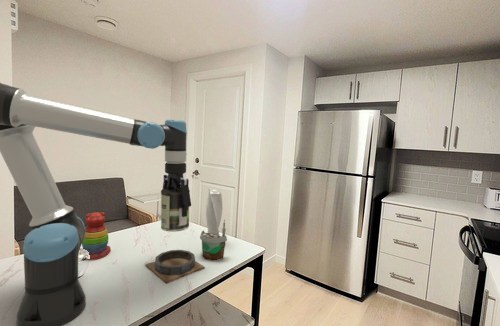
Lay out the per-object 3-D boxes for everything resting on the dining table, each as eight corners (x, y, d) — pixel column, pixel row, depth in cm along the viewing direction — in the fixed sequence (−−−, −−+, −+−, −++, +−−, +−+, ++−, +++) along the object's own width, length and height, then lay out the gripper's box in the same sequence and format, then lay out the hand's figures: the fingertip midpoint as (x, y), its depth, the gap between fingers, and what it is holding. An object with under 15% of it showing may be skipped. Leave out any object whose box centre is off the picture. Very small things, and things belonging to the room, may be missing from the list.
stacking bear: (110, 248, 115) (110, 208, 113) (110, 257, 106) (110, 214, 104) (81, 251, 110) (81, 210, 108) (78, 262, 101) (77, 217, 99)
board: (166, 283, 89) (166, 281, 89) (145, 266, 100) (145, 264, 100) (204, 268, 101) (204, 266, 101) (182, 254, 112) (182, 252, 112)
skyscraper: (214, 251, 117) (217, 189, 114) (200, 246, 121) (202, 187, 119) (225, 245, 124) (228, 187, 122) (212, 241, 128) (214, 184, 126)
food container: (193, 257, 110) (194, 234, 109) (202, 251, 115) (202, 229, 114) (218, 264, 105) (219, 240, 104) (226, 258, 110) (227, 235, 109)
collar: (167, 279, 90) (167, 271, 90) (148, 264, 100) (148, 256, 100) (201, 266, 101) (202, 259, 100) (181, 253, 111) (181, 246, 110)
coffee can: (193, 224, 103) (194, 188, 101) (181, 233, 93) (181, 194, 91) (169, 221, 105) (169, 186, 104) (155, 230, 95) (155, 191, 93)
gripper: (202, 164, 91) (201, 226, 93) (169, 159, 107) (169, 212, 109) (183, 166, 86) (182, 231, 88) (151, 160, 102) (152, 216, 104)
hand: (175, 221), depth 99 cm, fingers closed on coffee can, 10 cm apart
